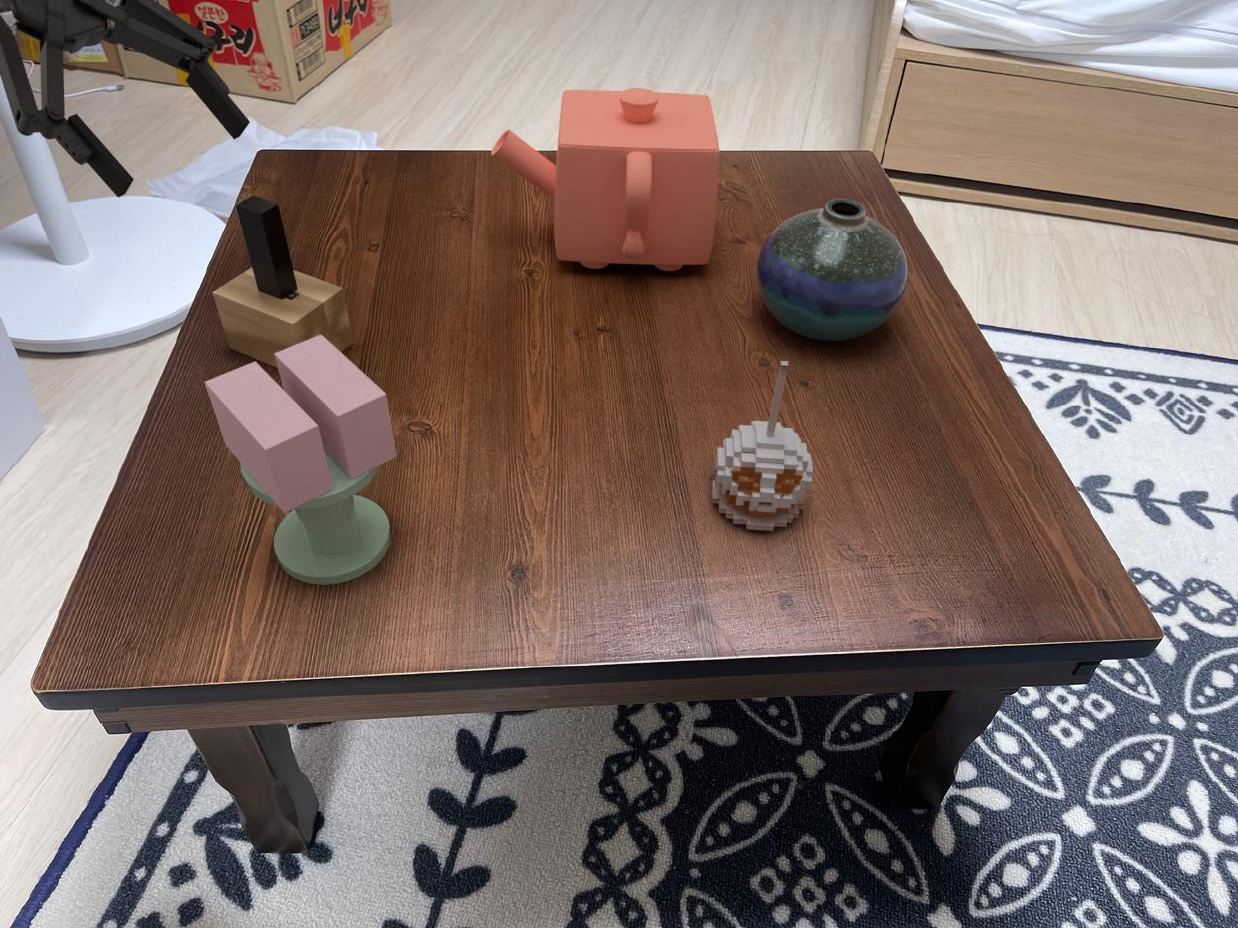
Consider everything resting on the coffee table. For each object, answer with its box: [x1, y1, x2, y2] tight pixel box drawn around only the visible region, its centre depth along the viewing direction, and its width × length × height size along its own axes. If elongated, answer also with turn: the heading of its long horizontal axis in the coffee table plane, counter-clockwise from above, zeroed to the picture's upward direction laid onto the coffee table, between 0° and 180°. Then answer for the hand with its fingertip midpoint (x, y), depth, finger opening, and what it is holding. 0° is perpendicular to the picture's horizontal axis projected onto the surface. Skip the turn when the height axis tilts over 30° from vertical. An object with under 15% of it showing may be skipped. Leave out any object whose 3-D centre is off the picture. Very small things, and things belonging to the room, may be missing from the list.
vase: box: [756, 198, 909, 342], centre depth 97 cm, size 15×15×13 cm
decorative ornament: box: [711, 360, 814, 532], centre depth 76 cm, size 8×8×15 cm
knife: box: [235, 194, 298, 300], centre depth 89 cm, size 2×4×16 cm, turn 62°
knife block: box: [212, 267, 354, 369], centre depth 92 cm, size 7×10×7 cm
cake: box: [204, 335, 397, 514], centre depth 67 cm, size 9×9×6 cm
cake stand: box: [239, 451, 392, 586], centre depth 72 cm, size 10×10×10 cm
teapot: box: [490, 87, 720, 272], centre depth 105 cm, size 25×23×18 cm
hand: (187, 158), depth 84 cm, fingers open, 13 cm apart
